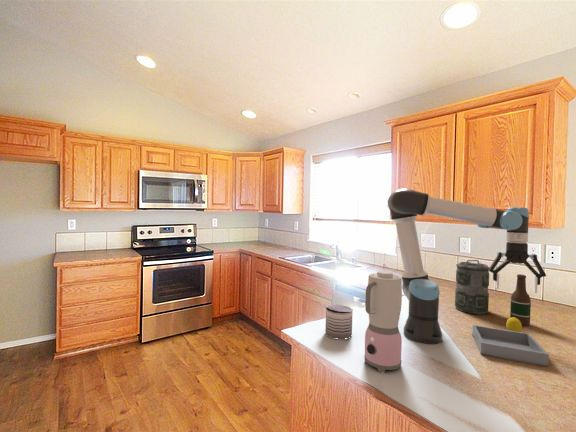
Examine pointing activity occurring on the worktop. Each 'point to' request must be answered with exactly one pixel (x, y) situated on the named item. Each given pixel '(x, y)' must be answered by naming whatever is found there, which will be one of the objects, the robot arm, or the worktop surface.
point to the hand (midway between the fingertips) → (515, 290)
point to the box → (509, 345)
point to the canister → (472, 287)
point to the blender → (383, 321)
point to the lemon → (514, 324)
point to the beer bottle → (521, 302)
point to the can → (338, 321)
